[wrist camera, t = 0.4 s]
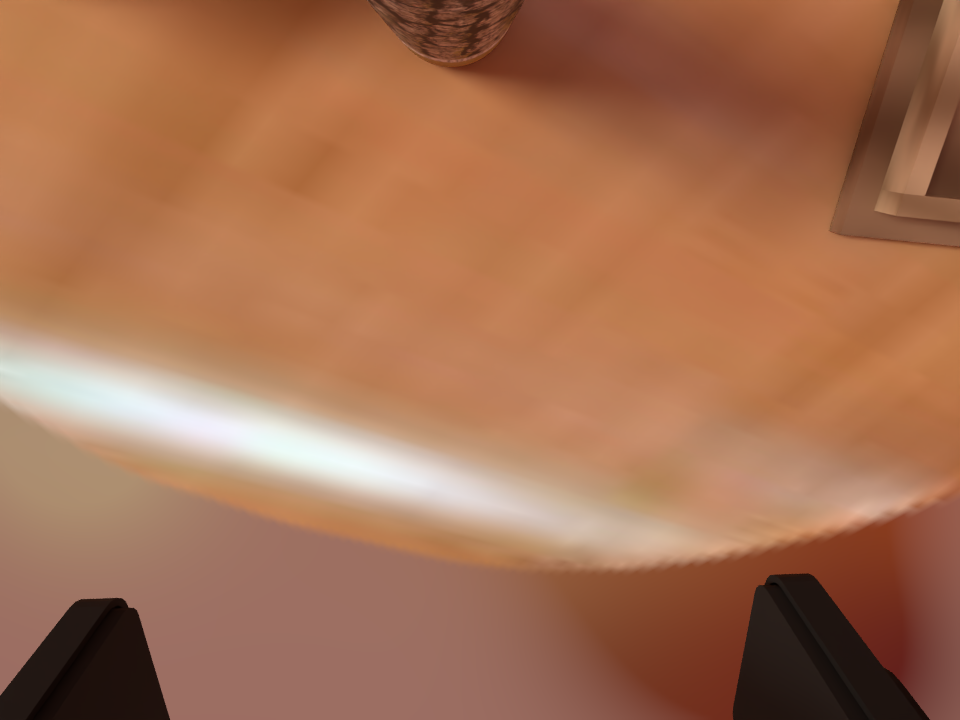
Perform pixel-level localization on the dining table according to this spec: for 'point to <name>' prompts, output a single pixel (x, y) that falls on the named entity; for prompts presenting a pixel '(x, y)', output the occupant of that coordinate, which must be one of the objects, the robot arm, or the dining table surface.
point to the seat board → (910, 135)
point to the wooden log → (449, 27)
